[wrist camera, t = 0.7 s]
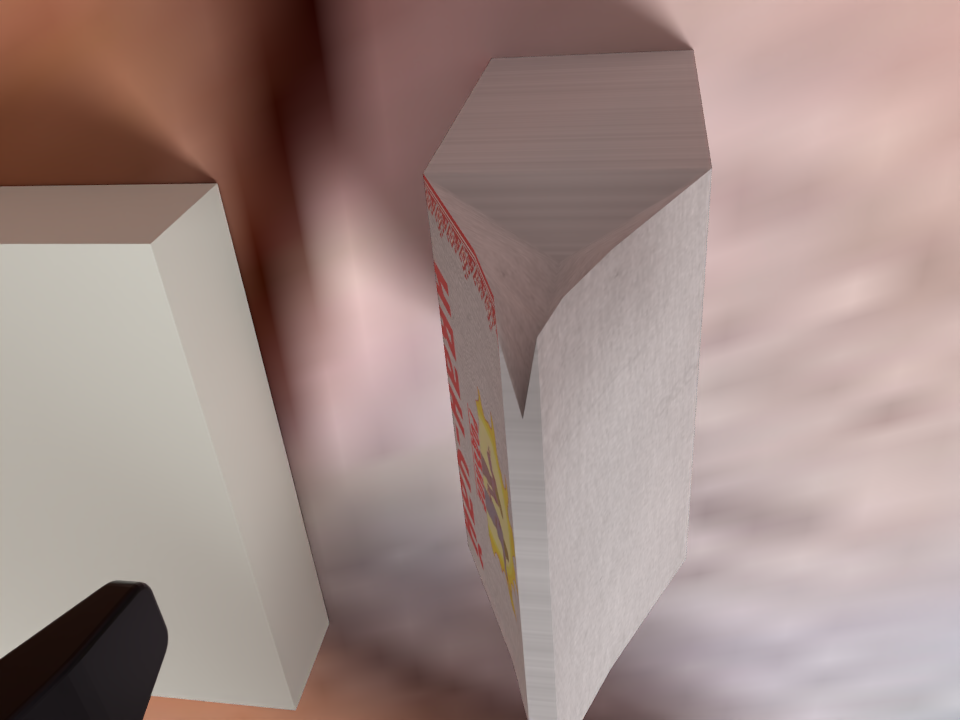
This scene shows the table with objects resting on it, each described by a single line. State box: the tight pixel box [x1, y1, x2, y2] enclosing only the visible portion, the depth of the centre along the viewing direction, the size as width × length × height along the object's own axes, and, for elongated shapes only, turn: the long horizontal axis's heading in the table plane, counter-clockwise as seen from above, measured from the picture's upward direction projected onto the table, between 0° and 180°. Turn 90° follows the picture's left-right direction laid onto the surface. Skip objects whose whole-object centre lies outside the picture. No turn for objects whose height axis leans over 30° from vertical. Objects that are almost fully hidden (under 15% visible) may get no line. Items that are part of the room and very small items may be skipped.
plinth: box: [0, 183, 329, 710], centre depth 22 cm, size 14×14×3 cm
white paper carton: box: [423, 50, 712, 720], centre depth 14 cm, size 4×7×10 cm, turn 5°
